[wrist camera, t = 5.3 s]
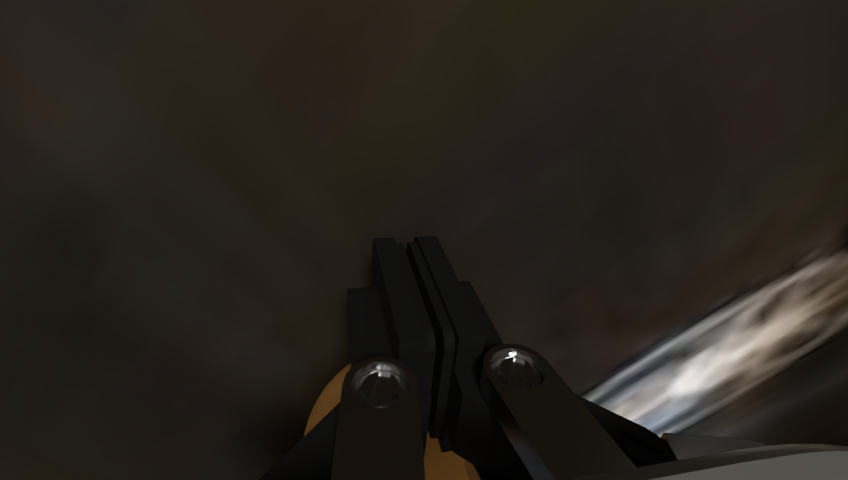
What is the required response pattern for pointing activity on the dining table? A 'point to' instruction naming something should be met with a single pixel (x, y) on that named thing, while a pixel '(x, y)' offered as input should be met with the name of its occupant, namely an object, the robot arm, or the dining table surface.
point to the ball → (440, 467)
